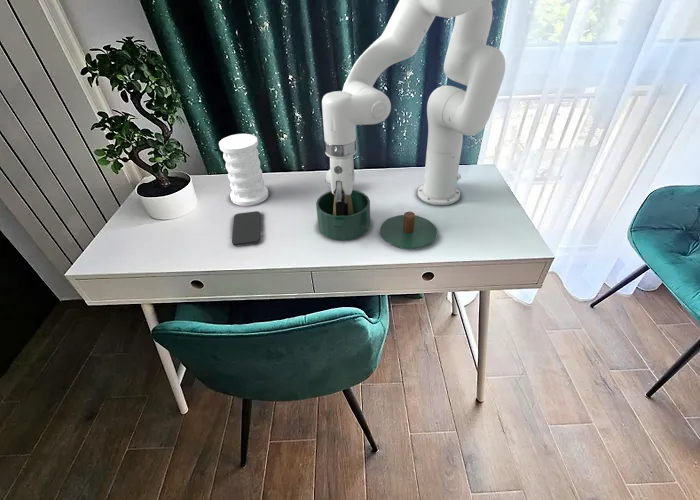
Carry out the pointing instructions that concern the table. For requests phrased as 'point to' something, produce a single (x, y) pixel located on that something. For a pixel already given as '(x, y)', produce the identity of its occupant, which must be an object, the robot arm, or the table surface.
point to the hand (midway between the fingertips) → (343, 210)
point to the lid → (408, 231)
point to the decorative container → (244, 169)
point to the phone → (246, 228)
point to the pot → (343, 217)
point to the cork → (350, 206)
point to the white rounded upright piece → (328, 179)
